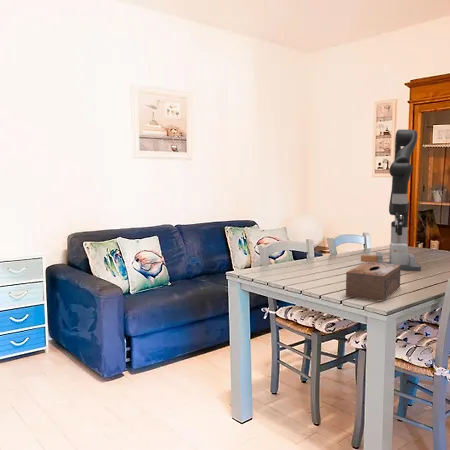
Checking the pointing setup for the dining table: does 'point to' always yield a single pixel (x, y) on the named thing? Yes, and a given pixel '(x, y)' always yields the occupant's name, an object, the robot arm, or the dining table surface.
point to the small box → (398, 254)
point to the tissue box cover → (373, 280)
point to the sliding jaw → (372, 258)
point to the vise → (409, 264)
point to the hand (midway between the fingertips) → (398, 234)
